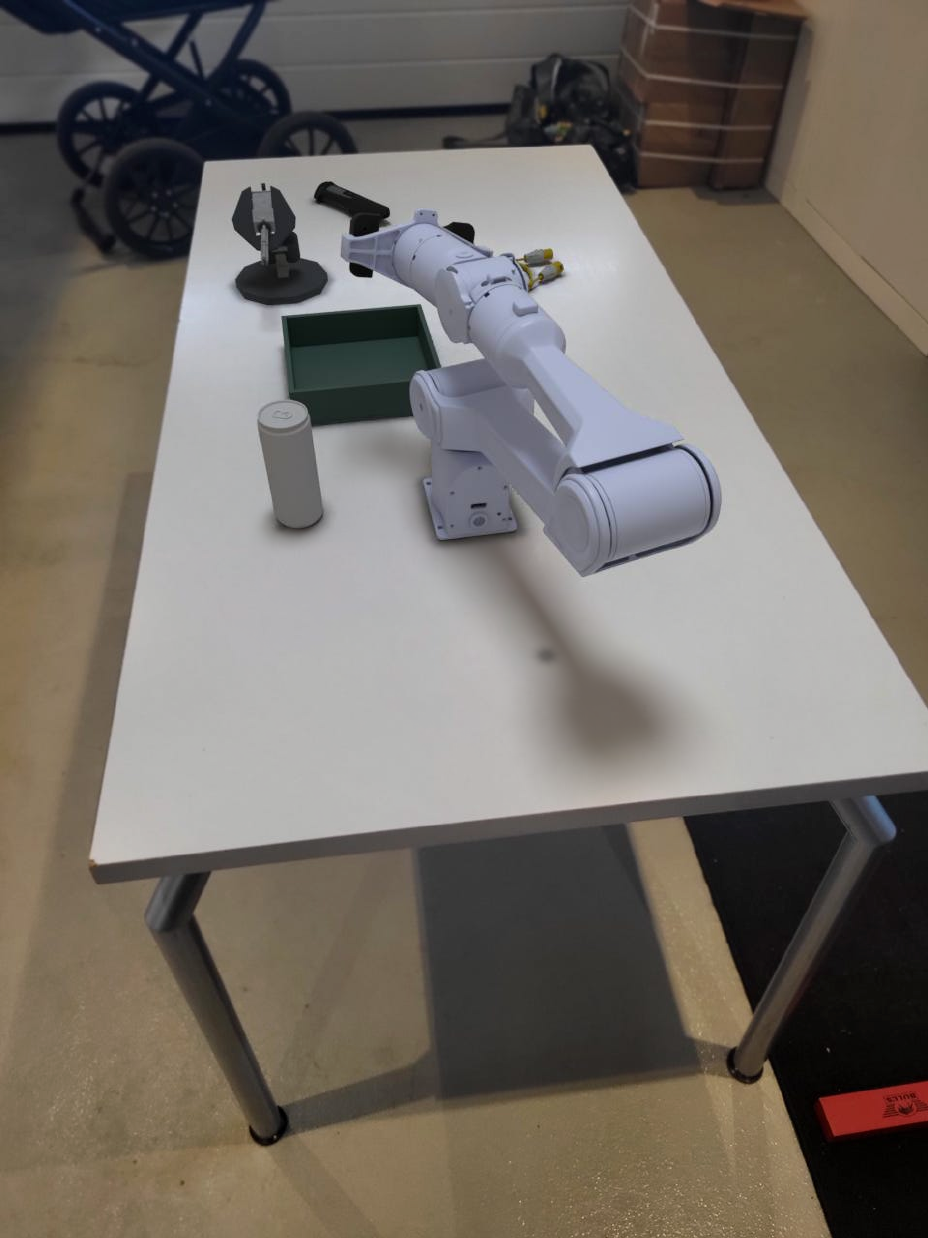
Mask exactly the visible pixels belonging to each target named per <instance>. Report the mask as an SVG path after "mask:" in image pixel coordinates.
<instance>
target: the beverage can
mask: <svg viewBox="0 0 928 1238" xmlns="http://www.w3.org/2000/svg"><path fill="white" fill-rule="evenodd" d="M256 423H257V424H256V425H257V430H258V436H259V442H260V447H261V452H262V456H263V462H264V467H265V472H266V477H267V483H268V487H269V494H270V498H271V503H272V507H273V512H274V516H275V518H276V520H278V521H279V522H280V523H281V524H283V525H284V526H286V527H288V528H290V529H304V528H308V527H310V526H313V525H314V524H315V523H317V522H318V520H320V518H321V516H322V515H323V511H324V508H323V500H322V492H321V486H320V479H319V478H320V477H319V472H318V471H319V470H318V464H317V457H316V449H315V442H314V435H313V428H312V426H311V421H310V415H309V414H308V410H307V408H306V407H305V405H303V404H302V403H300V402H297V401H293V400H290V399H280V400H278V399H277V400H274V401H269V402H268V403H266V404H265V405H263V406H261V408H259V410H258V412H257V420H256Z"/></svg>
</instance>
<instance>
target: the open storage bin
mask: <svg viewBox="0 0 928 1238" xmlns="http://www.w3.org/2000/svg"><path fill="white" fill-rule="evenodd" d="M280 318H281V327H282V336H283V347H284V357H285V364H286V365H285V366H286V376H287V386H288V387H287V388H288V396H289V400H293V401H297V402H300V403H302V404H303V405H305V407H306V408H307V410H308V414H309V415H310V421H311V427H312V426H313V427H314V426H323V425H329V424H331V425H332V424H341V423H350V422H351V423H352V422H360V421H370V420H379V419H380V420H381V419H390V418H399V417H408V416H414V415H413V412H412V407H411V402H410V383H411V380H412V379H413V376H414V374H415V373H416V372H417V371H421V370H424V371H429V370H434V369H438V368H442V365H441V361H440V359H439V355H438V353H437V349H436V346H435V343H434V339H433V337H432V334H431V331H430V328H429V325H428V321H427V318H426V316H425V312H424V310H423V306H422V304H421V303H417V304H404V305H391V306H381V307H370V308H359V309H348V310H347V309H346V310H345V309H344V310H334V311H324V312H313V313H312V312H311V313H301V314H300V313H299V314H289V315H281V317H280Z"/></svg>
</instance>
